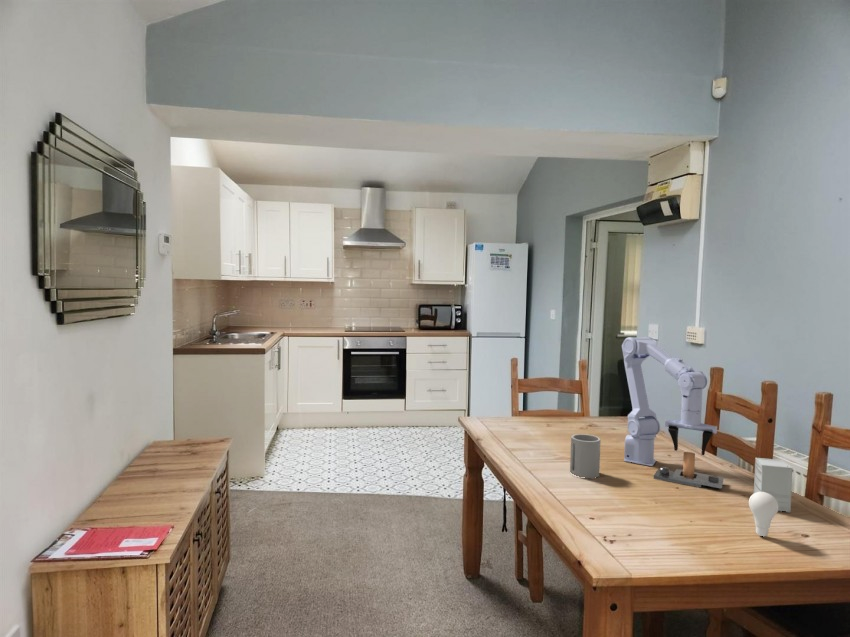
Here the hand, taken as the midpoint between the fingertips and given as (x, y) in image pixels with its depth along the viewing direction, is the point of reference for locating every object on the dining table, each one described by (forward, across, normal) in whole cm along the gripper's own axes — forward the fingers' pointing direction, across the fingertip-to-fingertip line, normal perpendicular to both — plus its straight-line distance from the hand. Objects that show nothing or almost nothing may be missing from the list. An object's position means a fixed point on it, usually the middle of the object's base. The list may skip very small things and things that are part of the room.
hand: (689, 452), depth 165 cm
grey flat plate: (+9, 0, 0) cm, 9 cm away
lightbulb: (+10, +20, -32) cm, 39 cm away
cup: (+10, -29, -13) cm, 33 cm away
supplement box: (+10, +22, -8) cm, 25 cm away
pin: (+9, 0, 0) cm, 9 cm away
